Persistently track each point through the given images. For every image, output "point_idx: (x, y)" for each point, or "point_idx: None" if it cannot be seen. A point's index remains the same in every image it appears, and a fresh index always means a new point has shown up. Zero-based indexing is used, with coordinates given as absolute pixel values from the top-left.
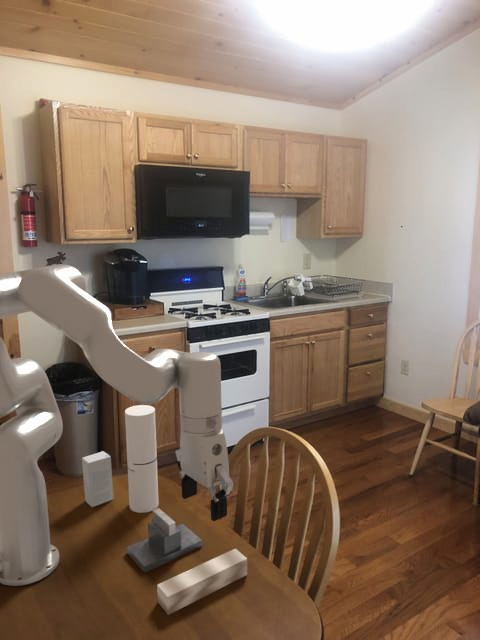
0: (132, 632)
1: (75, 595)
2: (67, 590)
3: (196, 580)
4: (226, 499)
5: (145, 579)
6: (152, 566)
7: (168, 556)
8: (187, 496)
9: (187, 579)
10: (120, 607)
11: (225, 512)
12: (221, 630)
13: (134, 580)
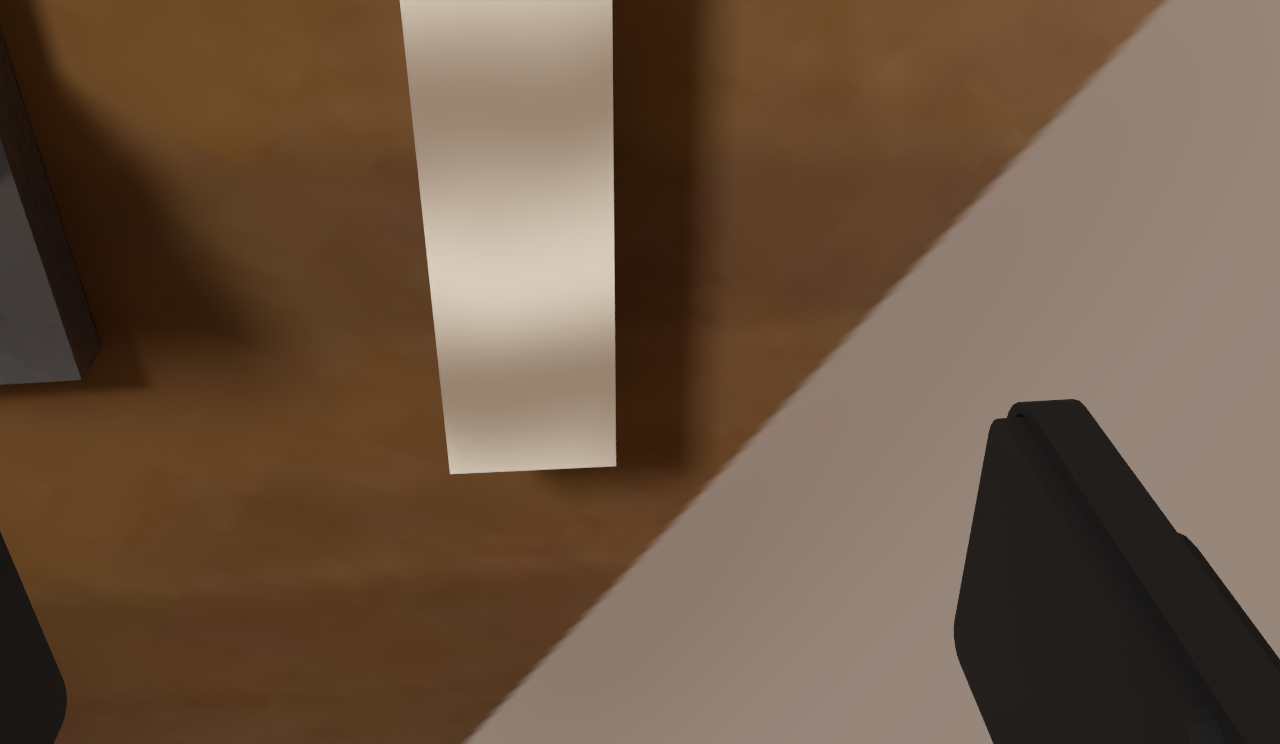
0: (604, 577)
1: (137, 715)
2: (69, 736)
3: (584, 221)
4: (1263, 657)
5: (180, 369)
6: (72, 298)
7: (12, 158)
8: (38, 677)
9: (531, 276)
10: (374, 569)
11: (1187, 542)
12: (954, 180)
13: (155, 430)
